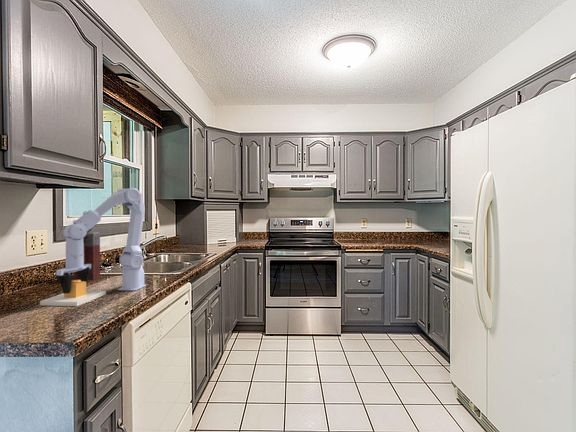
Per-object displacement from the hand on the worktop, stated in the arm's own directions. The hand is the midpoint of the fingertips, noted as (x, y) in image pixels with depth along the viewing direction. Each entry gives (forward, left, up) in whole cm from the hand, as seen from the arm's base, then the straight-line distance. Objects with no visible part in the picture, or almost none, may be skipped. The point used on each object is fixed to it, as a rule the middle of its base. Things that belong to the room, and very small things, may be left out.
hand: (74, 290), depth 120 cm
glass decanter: (-36, -22, -4) cm, 42 cm away
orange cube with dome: (0, 0, -2) cm, 2 cm away
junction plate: (0, 0, -3) cm, 3 cm away
